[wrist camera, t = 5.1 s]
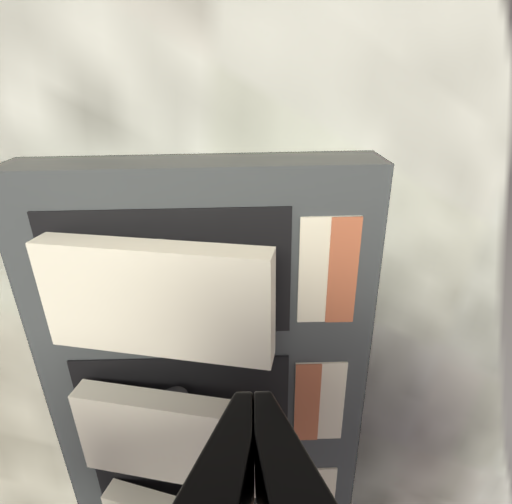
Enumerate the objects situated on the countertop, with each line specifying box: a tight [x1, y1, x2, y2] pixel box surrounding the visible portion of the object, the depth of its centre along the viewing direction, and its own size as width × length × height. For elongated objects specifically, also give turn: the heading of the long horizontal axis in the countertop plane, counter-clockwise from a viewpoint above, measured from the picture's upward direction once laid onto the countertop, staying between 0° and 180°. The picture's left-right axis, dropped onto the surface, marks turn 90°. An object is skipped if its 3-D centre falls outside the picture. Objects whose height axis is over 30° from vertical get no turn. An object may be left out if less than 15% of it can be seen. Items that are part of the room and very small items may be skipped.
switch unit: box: [0, 151, 394, 504], centre depth 19 cm, size 21×14×3 cm, turn 1°
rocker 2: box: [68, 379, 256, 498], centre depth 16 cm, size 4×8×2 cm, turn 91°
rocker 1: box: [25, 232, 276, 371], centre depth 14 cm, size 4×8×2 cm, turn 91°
